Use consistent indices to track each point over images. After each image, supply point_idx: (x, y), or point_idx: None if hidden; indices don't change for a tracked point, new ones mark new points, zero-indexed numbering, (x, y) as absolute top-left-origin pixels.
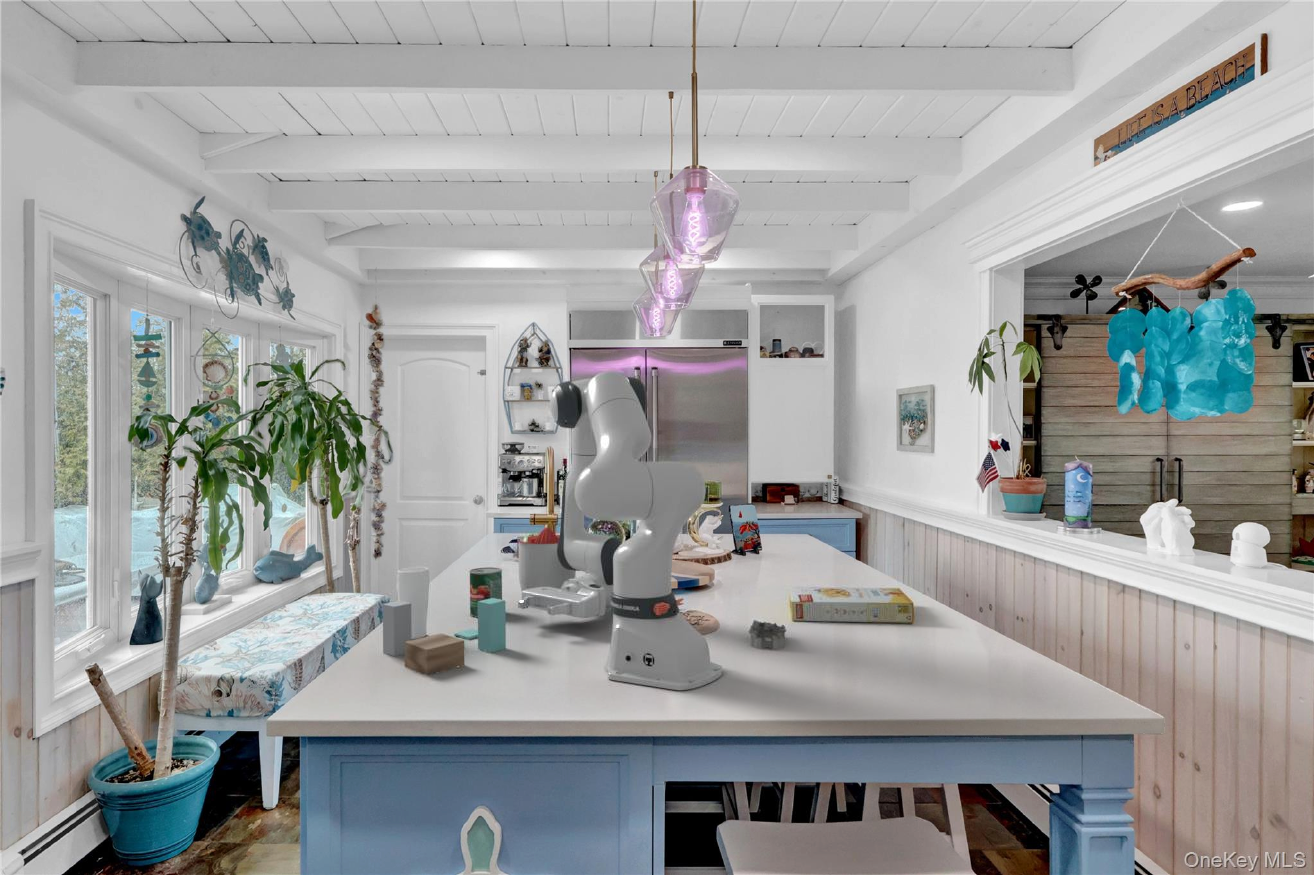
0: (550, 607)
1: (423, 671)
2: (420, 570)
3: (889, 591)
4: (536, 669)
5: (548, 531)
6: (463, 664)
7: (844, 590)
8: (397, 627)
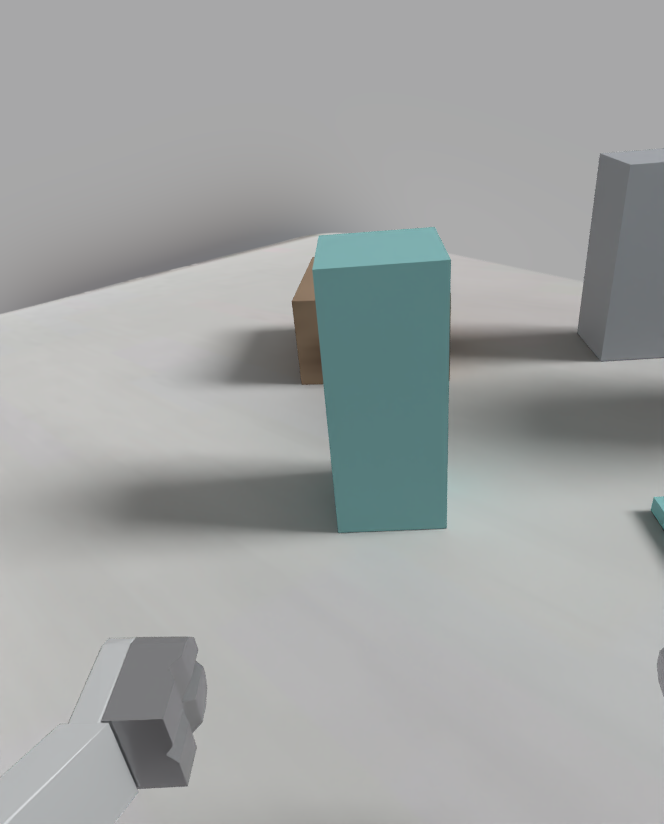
0: (144, 638)
1: None
2: None
3: None
4: (14, 463)
5: None
6: (301, 379)
7: None
8: (594, 241)
